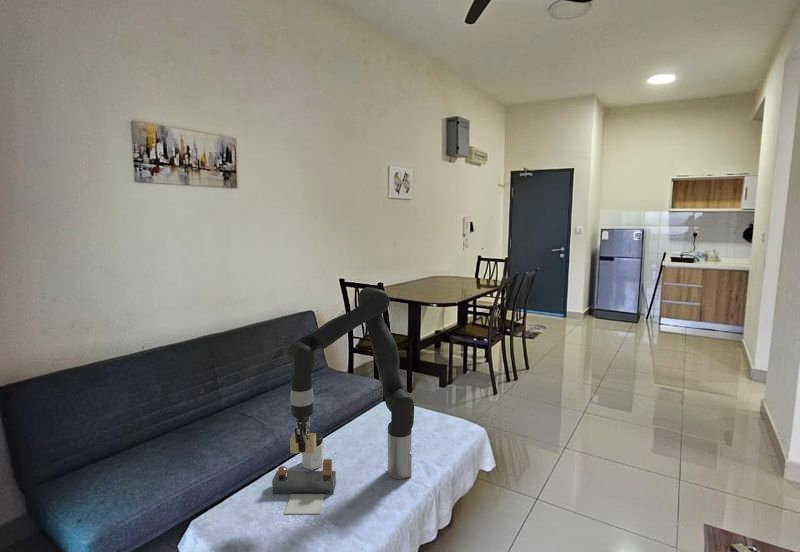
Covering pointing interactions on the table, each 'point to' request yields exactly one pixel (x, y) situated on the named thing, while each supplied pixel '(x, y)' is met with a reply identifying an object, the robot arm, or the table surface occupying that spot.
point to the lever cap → (309, 443)
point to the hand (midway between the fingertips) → (303, 447)
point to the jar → (314, 454)
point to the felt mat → (305, 504)
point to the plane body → (305, 481)
